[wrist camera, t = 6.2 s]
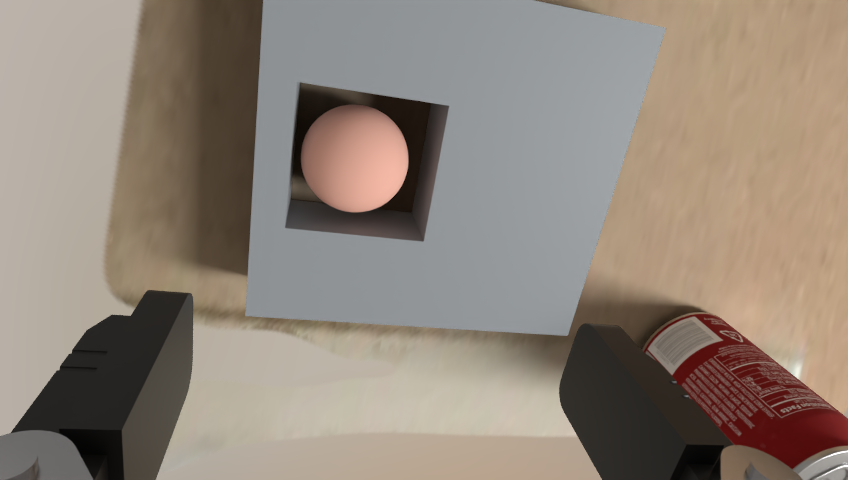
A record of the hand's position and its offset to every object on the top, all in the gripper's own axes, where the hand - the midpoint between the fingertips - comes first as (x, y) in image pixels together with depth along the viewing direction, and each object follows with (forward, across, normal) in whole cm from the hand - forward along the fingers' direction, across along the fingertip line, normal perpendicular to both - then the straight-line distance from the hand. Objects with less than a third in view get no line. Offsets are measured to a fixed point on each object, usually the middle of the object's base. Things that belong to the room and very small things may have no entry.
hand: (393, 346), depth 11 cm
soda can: (+18, -24, +11) cm, 32 cm away
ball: (+15, 0, 0) cm, 16 cm away
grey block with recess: (+18, -4, 0) cm, 18 cm away
